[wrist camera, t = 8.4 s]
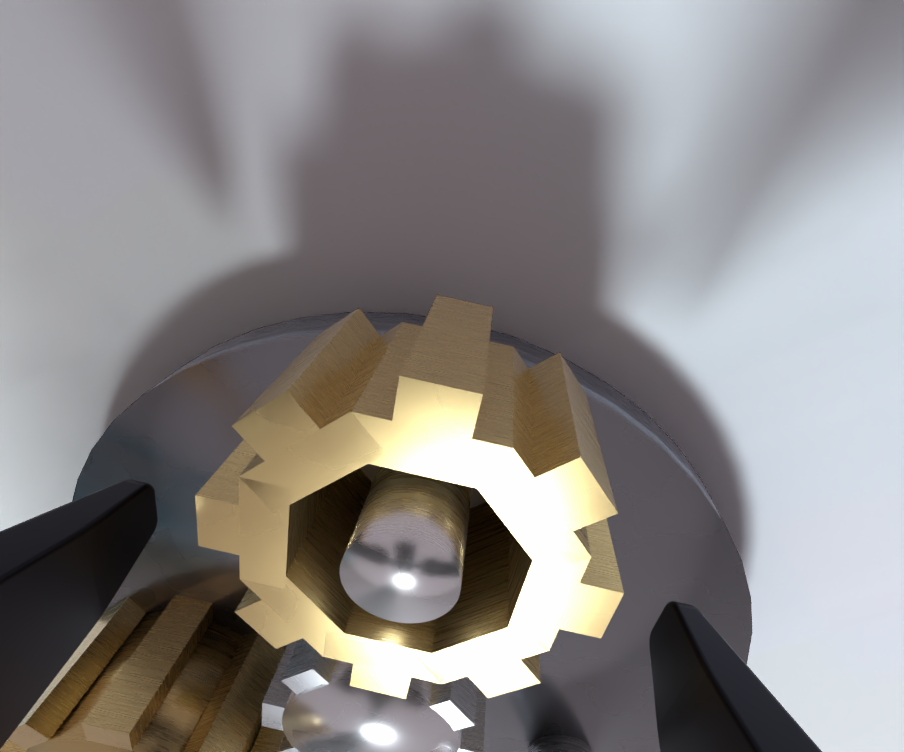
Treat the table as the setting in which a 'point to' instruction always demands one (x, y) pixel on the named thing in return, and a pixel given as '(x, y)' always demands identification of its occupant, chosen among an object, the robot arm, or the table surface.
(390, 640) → the planet gear
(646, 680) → the carrier
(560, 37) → the table surface
